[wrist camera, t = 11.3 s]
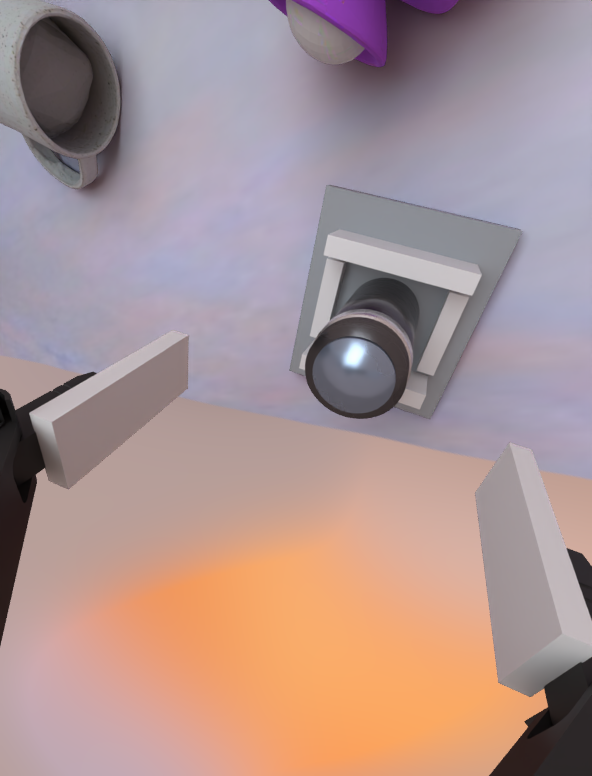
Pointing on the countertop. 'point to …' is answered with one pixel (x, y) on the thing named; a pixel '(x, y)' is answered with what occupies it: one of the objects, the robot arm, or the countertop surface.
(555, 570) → the robot arm
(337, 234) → the mount
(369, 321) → the lens
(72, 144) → the ceramic mug
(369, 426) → the countertop surface
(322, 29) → the toy camera
